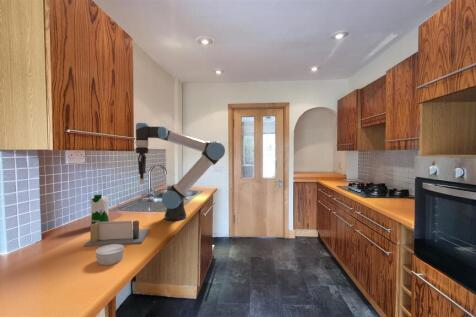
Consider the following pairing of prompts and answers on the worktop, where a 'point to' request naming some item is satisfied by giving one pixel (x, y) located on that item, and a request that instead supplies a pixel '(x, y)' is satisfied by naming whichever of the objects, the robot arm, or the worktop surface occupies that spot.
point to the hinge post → (135, 229)
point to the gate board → (121, 240)
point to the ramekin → (109, 254)
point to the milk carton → (99, 209)
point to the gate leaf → (115, 230)
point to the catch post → (94, 233)
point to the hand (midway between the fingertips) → (142, 183)
